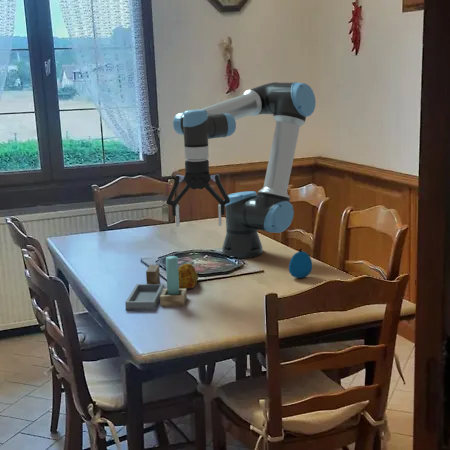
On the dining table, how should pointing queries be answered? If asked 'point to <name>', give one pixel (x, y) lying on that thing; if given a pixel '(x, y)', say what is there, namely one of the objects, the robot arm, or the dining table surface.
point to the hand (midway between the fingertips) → (199, 225)
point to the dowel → (172, 275)
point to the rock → (187, 276)
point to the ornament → (300, 264)
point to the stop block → (153, 274)
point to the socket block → (173, 298)
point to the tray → (144, 297)
